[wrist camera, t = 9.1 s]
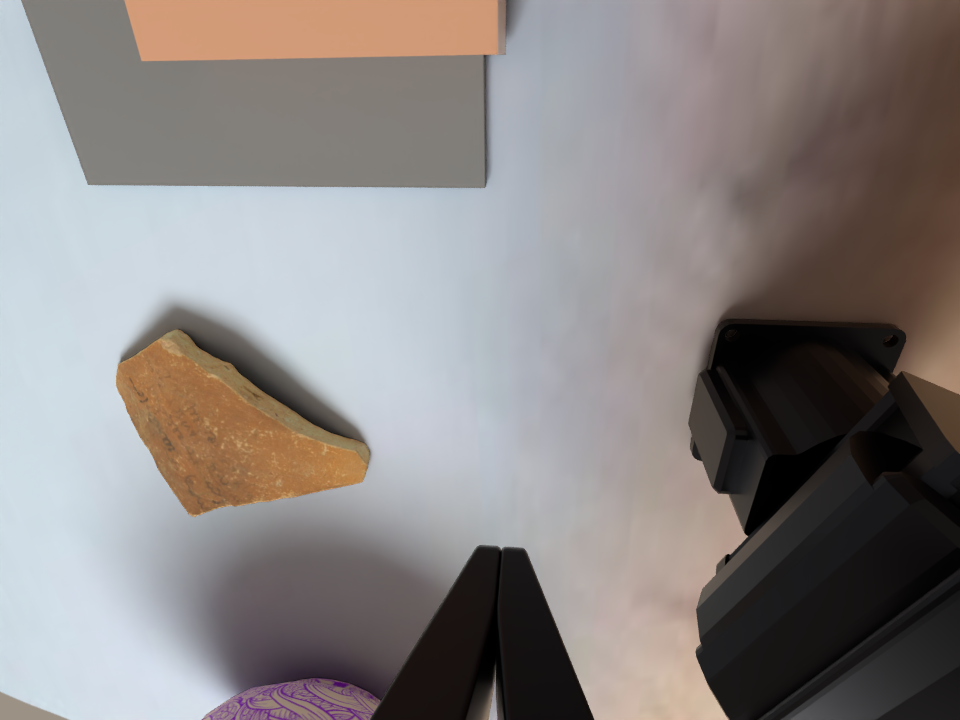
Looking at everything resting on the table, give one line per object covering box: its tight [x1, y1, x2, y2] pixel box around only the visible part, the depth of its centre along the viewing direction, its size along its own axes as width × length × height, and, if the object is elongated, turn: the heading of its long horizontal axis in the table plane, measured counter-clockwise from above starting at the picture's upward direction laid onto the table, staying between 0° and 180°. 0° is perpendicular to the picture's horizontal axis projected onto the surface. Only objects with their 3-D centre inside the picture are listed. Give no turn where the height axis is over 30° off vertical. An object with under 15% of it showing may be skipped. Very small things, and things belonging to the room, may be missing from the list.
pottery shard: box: [116, 329, 370, 517], centre depth 25 cm, size 10×9×2 cm
